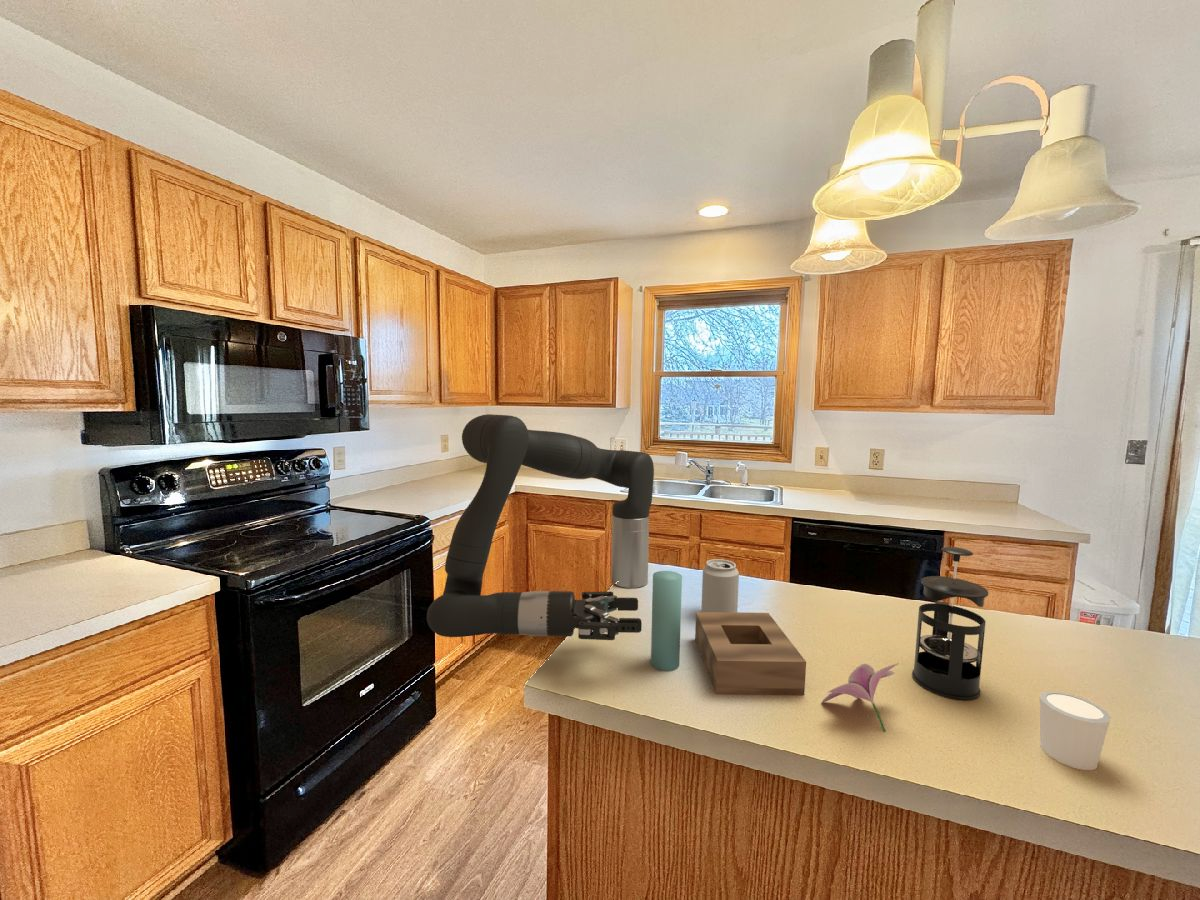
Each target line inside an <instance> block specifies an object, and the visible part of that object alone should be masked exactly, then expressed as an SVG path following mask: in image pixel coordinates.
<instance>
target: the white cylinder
mask: <svg viewBox="0 0 1200 900" xmlns="http://www.w3.org/2000/svg"><path fill="white" fill-rule="evenodd" d="M1110 721H1111V715H1110V714H1109V713H1108V712H1107V710H1105V709H1104V708H1103V707H1101V706H1100V705H1098V704H1096V703H1094V702H1092V701H1089V700H1087V699H1085V698H1083V697H1079V696H1076V695H1074V694H1070V693H1066V692H1060V691H1049V690H1048V691H1044V692H1041V693H1040V695H1039V738H1040V739H1039V741H1040V742H1039V743H1040V748H1041V750H1042V751H1043V752H1044V753H1045V754H1046V755H1047V756H1048V757H1050V758H1052V759H1053V760H1055V761H1057V762H1058V763H1060V764H1063V765H1065V766H1067V767H1069V768H1073V769H1078V770H1082V771H1083V770H1084V771H1094V770H1096V769H1097V768H1098V765H1099V761H1100V758H1101V755H1102V750H1103V746H1104V743H1105V739H1106V735H1107V734H1108V733H1107V732H1108V730H1109V726H1110V725H1109V724H1110Z"/></svg>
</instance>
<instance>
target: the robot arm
mask: <svg viewBox="0 0 1200 900" xmlns="http://www.w3.org/2000/svg"><path fill="white" fill-rule="evenodd" d="M461 442H462V446H463V448H464V450H465V451H466V453H467V454H468V455H469V456H470V457H471V459H474V460H475V461H477V462H479V463H483V464H486V467H485V472H484V475H483V478H482V482H481V483H480V486H479V488H478V490H477V492H476V494H475V495H474V497H473V498H472V500H471V501H470V502H469V504H468V505H467V507H465V508H466V509H464V511H463V512H462V514H461V516H460V518H459V519H458V521H457V523H456V525H455V527H454V529H453V532H452V536H451V540H450V543H449V547H448V551H447V555H446V559H445V563H444V571H445V573H446V578H445V579H446V581H445V583H444V584H445V585H444V590H443V593H442V595H439V596H438V597H437V598H435V599H434V600H433V601H432V602H431V604H430V605H429V607H428V609H427V612H426V623H427V625H428V627H429V628H430V629H431V631H432V632H433V633H435V634H437V636H440V637H444V638H463V637H464V638H465V637H475V636H481V635H488V634H489V635H490V634H494V635H497V634H499V635H523V636H524V635H525V636H530V637H572V636H573V635H574V632H575V629H577V630H578V634H577V635H578V637H577V638H578V639H579V640H592V641H593V640H595V641H599V640H600V641H614V640H616V636H618V635H619V634H620V633H622V634H623V633H628V634H629V633H630V634H631V633H632V634H634V633H635V634H637V633H638V634H639V633H641V632H642V619H641V618H638V617H619V618H618V617H614V616H612V615H610V613H612V612H614V611H618V612H621V611H623V612H625V611H629V612H630V611H633V612H635V611H638V609H639V599H638V598H637V597H620V596H619V597H618V596H617V595H614V592H613V591H582V592H581V599H576V596H575V593H574V591H572V590H571V591H569V590H567V591H566V590H563V591H562V590H533V591H532V590H531V591H523V592H522V591H521V592H516V591H507V592H506V591H502V592H494V593H491V594H487V595H482V588H483V576H484V573H485V570H486V567H487V562H488V560H489V555H490V551H491V548H492V544H493V543H492V542H493V538H494V535H495V532H496V529H497V526H498V523H499V520H500V517H501V515H502V512H503V509H504V507H505V506H506V505H505V504H506V501H507V500H508V498H509V495H510V493H511V491H512V489H513V486H514V483H515V481H516V478H517V476H518V474H519V471H520V469H521V466H524V467H528V468H531V469H532V470H533V469H534V470H537V471H539V472H543V473H547V474H551V475H554V476H558V477H562V478H569V479H576V480H586V479H587V480H588V479H596V480H599V481H602V482H605V483H608V484H610V485H612V486H615V487H620V488H626V489H628V490H627V491H628V492H627V493H628V494H627V497H626V498H625V499H622V500H618V501H616V502H614V503H613V504H612V511H611V513H612V514H611V524H612V525H611V528H612V529H611V577H610V578H611V583H612V584H613V585H615V583H616V582H617V581H619V582H617V584H616V585H615V586H618V587H622V588H626V589H628V588H629V589H630V588H631V589H632V588H633V589H635V588H640V587H644V586H646V585H647V584H648V582H649V549H650V547H649V541H650V538H649V536H650V509H651V505H652V502H653V491H654V477H655V476H654V475H655V465H654V461H653V458H652V457H651V455H650V454H648V453H646V452H644V451H643V452H641V451H634V450H626V449H625V450H623V449H622V450H621V449H620V450H615V449H604V448H600V447H597V445H596V444H595V443H594V442H592V441H591V440H589V439H588V438H585V437H581V436H578V435H574V434H570V433H563V432H559V431H550V430H549V431H547V430H536V429H528V428H527V425H526V424H525V422H524V421H523V420H522V419H521V418H519V417H517V416H514V415H508V414H507V415H506V414H490V413H489V414H482V415H478V416H475V417H474V418H472V419H471V420H469V421H468V422H467V423H466V425H465V426H464V428H463V430H462V433H461Z"/></svg>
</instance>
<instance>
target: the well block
mask: <svg viewBox="0 0 1200 900" xmlns="http://www.w3.org/2000/svg"><path fill="white" fill-rule="evenodd" d="M694 626H695V628H694V630H695V632H694V633H695V635H694V640H695V642H696V645H697V648H698V650H699V653H700V655H701V657H702V660H703V663H704V665H705V669H706V671H707V673H708V675H709V678H710V681H711V684H712V686H713V689H714V691H715V694H716V695H717V694H718V695H721V694H723V695H801V696H802V695H805V691H806V689H805V688H806V673H807V672H806V671H807V661H806V659H805V658H804V656H803V655H802V654H801V653H800V652H799V651H798V649H797V648H796V647H795V645H794V644H793V643H792V642H791V640H790V638H789V637H788V636H787V635H786V633H785V632H784V631H783V630H782V628H781V627H780V626H779V625H778V623H777V621H775V619H774V618H773V617H772V615H771V614H770V613H769V612H744V611H743V612H739V611H737V612H701V611H697V612H695V625H694Z"/></svg>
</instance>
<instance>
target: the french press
mask: <svg viewBox="0 0 1200 900" xmlns="http://www.w3.org/2000/svg"><path fill="white" fill-rule="evenodd" d="M940 549H941V551H942V552H944V553H947V554H951V555H952V561H953V562H954V566H953V567H954V568H953V576H952V577H950V576H941V575H931V576H929V575H928V576H926V577H925V576H924V577H922V578H921V579H920V581H921V584H922V585H923V596H924V597H926V598H927V599H929V600H931V601H935V602H934V603H924V604H921V605H920V606H919V607H918V616H917V626H916V629H917V630H916V639H915V640H916V641H915V653H914V664H913V669H912V672H911V677H912V678H913V680H915V681H916V682H915V681H914V682H915V683H916V684H917V683H918V686H920V687H921V686H922V687H921V688H923V689H924V690H926V689H927V690H926V691H928V690H929V691H928V692H930V691H931V693H932V692H933V693H932V694H935V695H937V694H938V695H937V696H940V695H941V696H940V697H943V696H944V698H946V697H947V699H951V700H957V701H973V699H974V700H976V699H978V698H980V696H981V692H982V691H981V688H980V684H981V674H982V673H981V672H982V664H983V663H982V661H983V651H984V641H985V632H986V620H985V618H983V616H981V615H980V614H977V613H976V612H974V611H971V610H969V609H966V608H963V607H959V606H955V605H954V603H955V598H963V599H967V600H969V601H971V602H972V603H973V604H974V605H976V606H977V607H979V608H983V607H984V605H985V598H987V597H988V596H989V591H988V589H986V587H983V586H981V585H980V584H977V583H974V582H972V581H969V580H965V579H961V578H957V570H958V563H959V562H960V561H961V556H962V557H970V556H974V553H973V551H971V550H968V549H966V548H962V547H956V546H945V547H942V548H940ZM947 599H950V600H951V601H950V604H949V603H948V602H944V601H943V600H947ZM927 612H933V617H931V616H929V615H927V614H925V613H927ZM953 615H957V616H961V617H964V618H966V619H970V620H971V621H974V622H975V623H977V624H978V625H977V626H968V625H967V626H965V625H964V626H963V625H958V624H953V617H954V616H953ZM922 622H923V623H924V624H926V625H928V626H930V627H932V632H931V633H932V634H926V635H922V624H923V623H922ZM976 635H977V636H978V641H977V648H975V647H974V646H972V645H970V644H969V643H966V641H965V639H966V636H976ZM920 648H921V650H923V651H920ZM973 663H976V664H973ZM938 672H939V673H938ZM940 673H945V674H947V676H946V675H943V674H940Z"/></svg>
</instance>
